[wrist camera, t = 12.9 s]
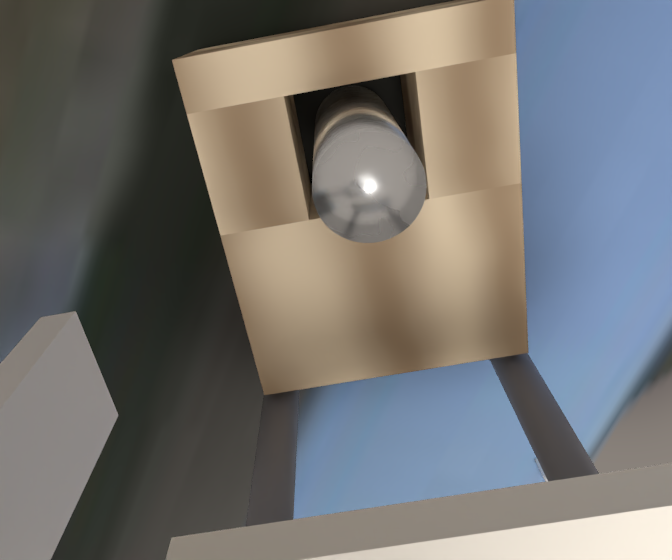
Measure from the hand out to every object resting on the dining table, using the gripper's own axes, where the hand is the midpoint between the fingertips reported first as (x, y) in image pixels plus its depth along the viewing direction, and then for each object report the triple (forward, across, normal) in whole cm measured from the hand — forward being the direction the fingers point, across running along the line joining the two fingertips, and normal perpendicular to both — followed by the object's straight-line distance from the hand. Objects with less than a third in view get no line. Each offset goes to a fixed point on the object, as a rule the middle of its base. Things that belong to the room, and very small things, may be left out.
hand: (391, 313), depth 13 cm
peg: (+21, 0, 0) cm, 21 cm away
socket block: (+21, 0, -3) cm, 21 cm away
